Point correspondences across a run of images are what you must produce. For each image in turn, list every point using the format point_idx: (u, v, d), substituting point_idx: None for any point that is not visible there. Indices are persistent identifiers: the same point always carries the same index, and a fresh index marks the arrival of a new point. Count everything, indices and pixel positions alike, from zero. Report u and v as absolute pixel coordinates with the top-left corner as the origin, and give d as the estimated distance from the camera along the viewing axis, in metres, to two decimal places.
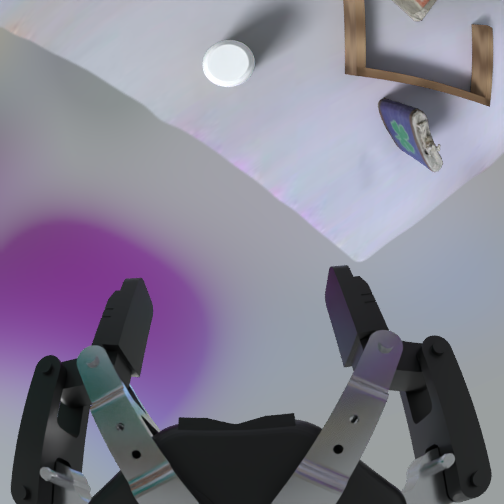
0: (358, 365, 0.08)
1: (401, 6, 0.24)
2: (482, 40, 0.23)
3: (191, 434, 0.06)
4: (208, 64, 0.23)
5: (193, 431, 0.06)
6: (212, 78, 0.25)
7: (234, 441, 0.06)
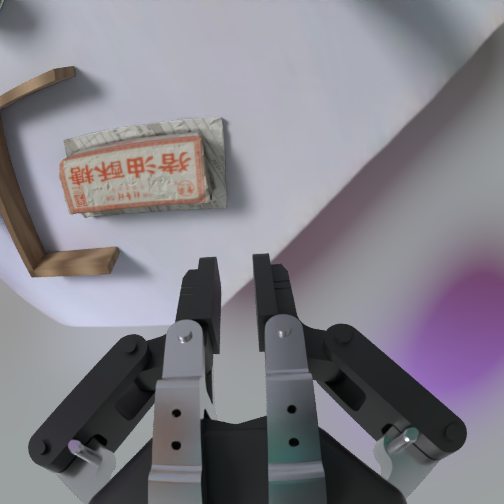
0: (267, 358, 0.08)
1: None
2: (90, 260, 0.33)
3: None
4: None
5: None
6: None
7: (234, 441, 0.06)
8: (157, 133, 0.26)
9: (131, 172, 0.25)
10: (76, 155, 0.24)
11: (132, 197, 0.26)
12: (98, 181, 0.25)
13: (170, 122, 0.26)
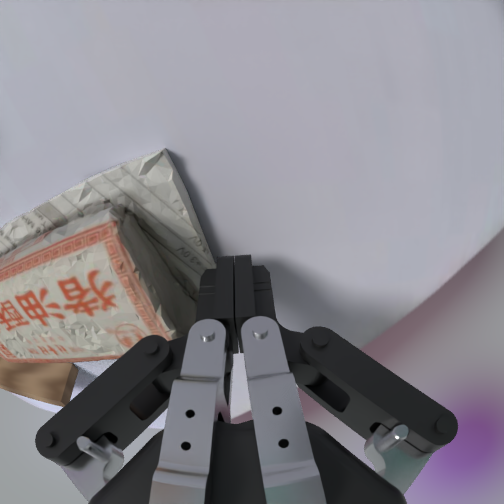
0: (246, 362, 0.08)
1: None
2: (40, 383, 0.18)
3: None
4: None
5: None
6: None
7: (234, 441, 0.06)
8: (55, 221, 0.11)
9: (33, 317, 0.11)
10: None
11: (59, 352, 0.12)
12: (5, 330, 0.11)
13: (66, 194, 0.11)
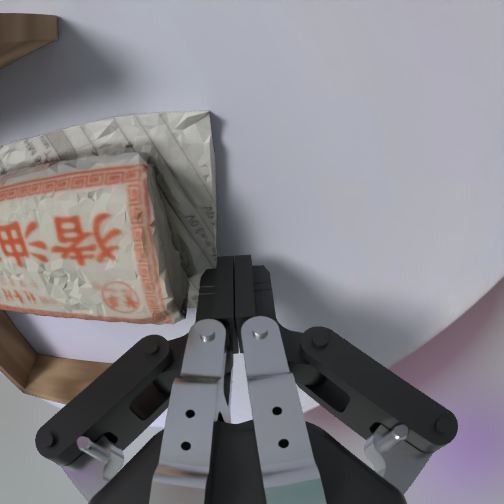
0: (246, 362, 0.08)
1: None
2: None
3: None
4: None
5: None
6: None
7: (234, 441, 0.06)
8: (62, 154, 0.10)
9: (9, 254, 0.09)
10: None
11: (25, 300, 0.10)
12: None
13: (86, 127, 0.09)
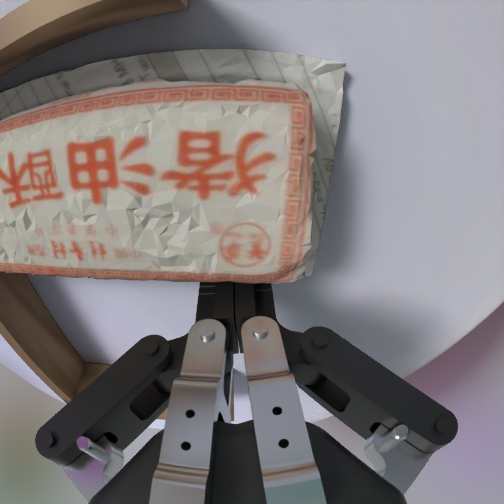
0: (246, 362, 0.08)
1: None
2: None
3: None
4: None
5: None
6: None
7: (234, 441, 0.06)
8: (166, 78, 0.09)
9: (81, 185, 0.08)
10: None
11: (86, 256, 0.09)
12: (6, 206, 0.08)
13: (205, 52, 0.08)
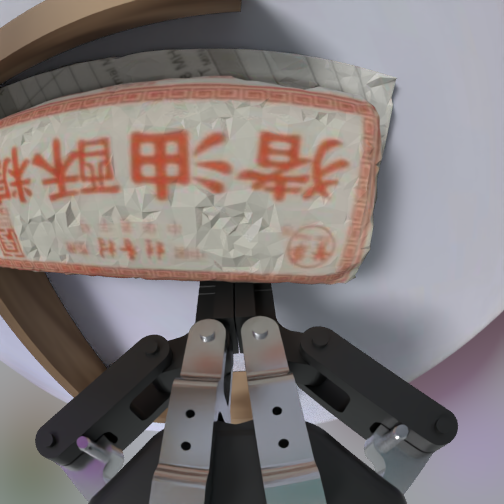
0: (246, 362, 0.08)
1: None
2: None
3: None
4: None
5: None
6: None
7: (234, 441, 0.06)
8: (227, 75, 0.09)
9: (144, 179, 0.08)
10: None
11: (140, 255, 0.09)
12: (44, 199, 0.08)
13: (268, 54, 0.09)
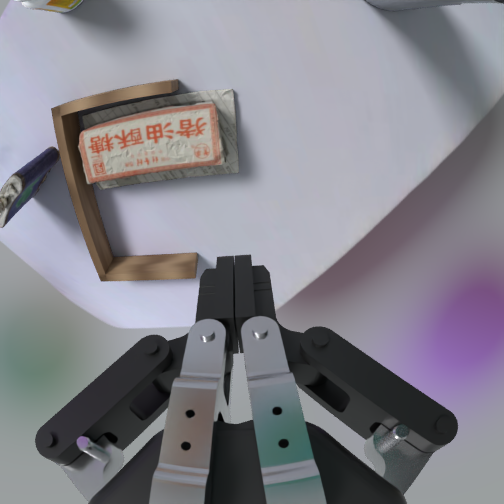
0: (246, 362, 0.08)
1: None
2: (173, 265, 0.38)
3: None
4: None
5: None
6: None
7: (234, 441, 0.06)
8: (173, 104, 0.28)
9: (150, 138, 0.27)
10: (96, 126, 0.26)
11: (150, 162, 0.28)
12: (118, 149, 0.27)
13: (185, 94, 0.27)
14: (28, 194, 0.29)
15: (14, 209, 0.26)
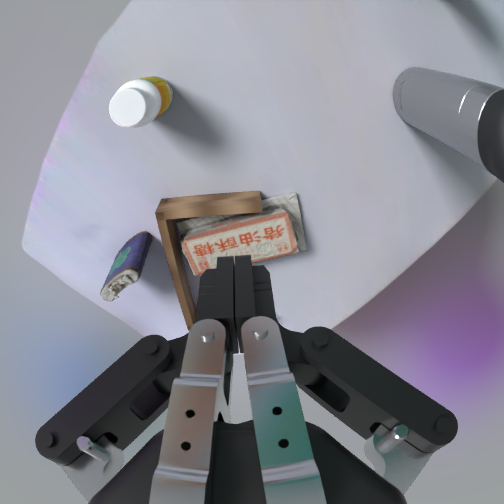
0: (246, 362, 0.08)
1: None
2: None
3: None
4: (124, 90, 0.22)
5: None
6: (118, 92, 0.24)
7: (234, 441, 0.06)
8: None
9: (243, 243, 0.40)
10: (196, 236, 0.40)
11: None
12: (218, 252, 0.41)
13: None
14: None
15: None
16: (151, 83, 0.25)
